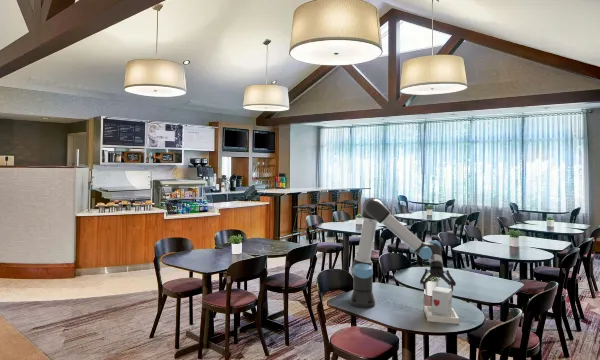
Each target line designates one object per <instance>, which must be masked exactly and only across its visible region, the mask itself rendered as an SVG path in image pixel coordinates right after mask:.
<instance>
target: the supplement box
mask: <svg viewBox="0 0 600 360" xmlns="http://www.w3.org/2000/svg"><path fill="white" fill-rule="evenodd" d="M431 298H432V299H431V306H432V315H434V316H446V317H450V316H451V308H453V307H452V306H453V303H452V302H453V301H452V300H453V292H452V289H449V287H442V286H435V287H434V288H433V289H432V290H431Z"/></svg>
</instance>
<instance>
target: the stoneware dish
mask: <svg viewBox="0 0 600 360" xmlns="http://www.w3.org/2000/svg"><path fill="white" fill-rule="evenodd" d="M423 307H424V310H423V311H424V314H425V317H426V320H427V322H433V323H442V324H453V325H454V324H457V325H458V324H460V317H459V316H458V314H457V312H456V310H455V308H453V307H452V308H451V316H450V317H446V316H434V315H432V305H431V306H428V305H424V306H423Z"/></svg>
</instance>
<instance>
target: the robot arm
mask: <svg viewBox="0 0 600 360" xmlns="http://www.w3.org/2000/svg"><path fill="white" fill-rule="evenodd" d="M391 213H392V212H391V211H390V210H389V209H388V208H387V207H386V206H385V204H384V203H383V202H382V201H381V200H380V199H378V198H376V197H368V198H367V199H366V200H364V202H363V205H362V213H361V219H362V220H363V222H362V227H361V233H360V240H359V244H358V250H357V255H356V256H355V257H354V259H353V264H352V266H351V274H352V278H353V282H352V283H353V284H352V286H353V289H352V293H351V296H350V299H349V303H350V305H351V306H353V307H356V308H360V309H361V308H362V309H366V308H367V309H368V308H373V307H375V306H376V300H375V296H374V293H373V280H374V279H373V275H374V271H373V266H372V265H373V261H372V260H371V259H372V258H371V256H372V251H373V246H374V242H375V241H374V240H375V235H376V229H377V225H378V224H377V223H379V224H382V225H383V226H385V227H386V228H387V229H388V230H389V231H390V232H392V233H393V234H394V235H395V236H396V237H397V238H399V240H401V242H403V243H404V244H405V245H406V246H407V247H408V248H409V249H408V250H409V252H410V253H412V254H416V255H418V256H419V257H420V258H421V259H422V260H429V269H427V268H424V273H423V275H422V277H421V278H420V281H419V283H420V285H422V286H423V287H422V289H423V290H424V291H425V292H424V293H425V296H428V282H429V281H430V280H431V279H432V278H434V279H436V278H437V279H440V278H441V280H443V281H444V282H446V284H448V289H452V293H453V292H454V287H455V286H456V285H457V282H456V281H455V279H454V278H453V276H452V275H451V274H450V270H449V269H447V270H444V267H443V266H444V265H443V255H442V254H443V253H442V245H441V242H440V241H439V240H436V239H435V240H430V241H428V242H423V241H422V240H421V239H420V238H418V237H417V235H415V234H414V233H413V232H411V231H410V229H408V228H407V227H406V226H405V225H404V224H402V223H401V222H400V221H399V220H398V219H397V218H395V216H393V215H392V214H391ZM427 274H429V275H428V276H427ZM426 277H427V278H426Z"/></svg>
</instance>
